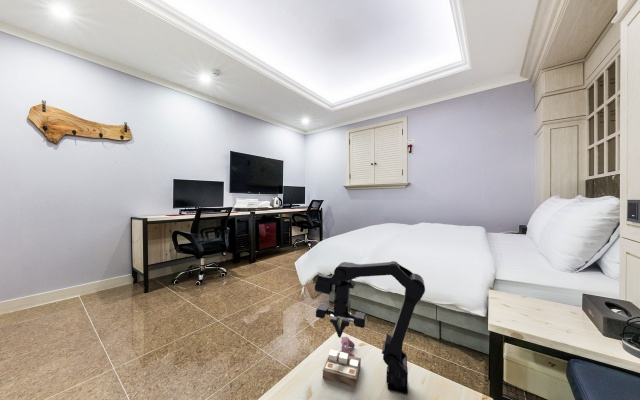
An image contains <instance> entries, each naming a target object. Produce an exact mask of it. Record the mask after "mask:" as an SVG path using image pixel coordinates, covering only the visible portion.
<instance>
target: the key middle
mask: <svg viewBox="0 0 640 400" xmlns="http://www.w3.org/2000/svg"><path fill="white" fill-rule="evenodd" d="M339 353H340V355H339V363H341V364H345V365H347V363H348V354H347V353H343V352H342V351H340V352H339Z"/></svg>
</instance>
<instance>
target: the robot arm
mask: <svg viewBox="0 0 640 400" xmlns="http://www.w3.org/2000/svg"><path fill="white" fill-rule="evenodd" d="M379 276H392V277H393V278H395V280H396V281H397V282H398V283H399V284H400V285H402V287H403V288H404V298H403V301H402V304H401V307H400V309H399V312H398V315H397V318H396V319H397V320H396V322H395V324H394V329H393V331H392V333H391V334H390V335H389V334H388V333H385V334H386V335H385V340H383V343H382V348H381V349H382V351H381V354H382V359H383V362H384V363H385V365H387V366H386V379H385V380H386V383H387V389H388V390H390V391H393V392H397V393H401V394H403V395H408V394H409V390H408V387H409V385H408V379H409V377H408V376H409V373H408V372H409V371H408V356H407V355H406V353H405V351H403V345H404V344H403V343H404V340H405V337H406V334H407V331H408V328H409V325H410V323H411V319H412V318H413V317H412V316H413V313H414V310H415V309H416V308H415V307H416V306H417V304H418V303H419V302H420V301H421V300H422V298H423V296H424V295H425V292H426V286H425V281H424V279H423V277H422V276H421V275H420V274H418V273H414V272H412V271H411V270H410V269H408V268H406V267H404V266H402V265H401V264H399V263H398V262H397V261H394V260H392V261H390V262H387V261H386V262H377V263H362V264H360V263H354V262H345V261H344V262H340V263H339V264H338V266H336V267H335V268H334V271H333V274H332V275H331V276H330V275H325V274H322V273H319V274H318V275H317V277H316V278H317V279H316V281H315V284H314V291H315V292H316V293H321V294H324V295H329V296H330V295H331V294H332V293H334V297H333V309H330V305H328V304H322V303H320V304H319V305H318V307H317V308H316V310H315V318H319V319H322V320H323V319H325V317H326V315H328V316H330V319H329V323H331V324H332V325H333V327H334V329H335V332H336V335H337V338H341V339H342V335H343V332H344V330H345V328H346V327H349V326H350V324H351V322H353V325H354V326H355V327H358V328H360V329H361V328H362V329H363V328H365V327H366V322H367V314H366V312H361V311H355V313H354V314H352V313H351V307H352V299H350V296H351V295H350V294H351V291H350V290H351V289H355V287H356V283H355V282H354V281H353V280H354V279H357V278H362V277H365V278H366V277H379ZM341 319H342V320H341Z"/></svg>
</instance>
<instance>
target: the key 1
mask: <svg viewBox="0 0 640 400" xmlns="http://www.w3.org/2000/svg"><path fill="white" fill-rule="evenodd" d="M338 353H339V351H338V350H334V349H330V350H329V353H328V357H329V361H333V362H337V359H338Z"/></svg>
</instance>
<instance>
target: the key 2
mask: <svg viewBox="0 0 640 400" xmlns="http://www.w3.org/2000/svg"><path fill="white" fill-rule="evenodd" d="M349 366H353V367H356V368H358V366H359V361H357V360H353V359H351V360H350V364H349Z"/></svg>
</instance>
